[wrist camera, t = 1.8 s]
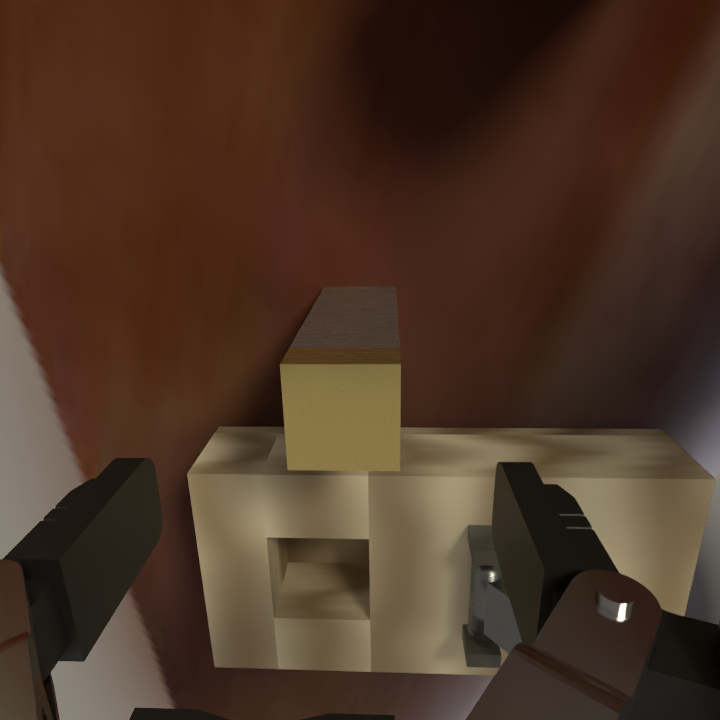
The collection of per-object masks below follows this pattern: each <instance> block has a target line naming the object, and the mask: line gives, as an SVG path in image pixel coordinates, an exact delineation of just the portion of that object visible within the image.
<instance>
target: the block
mask: <svg viewBox="0 0 720 720" xmlns="http://www.w3.org/2000/svg"><path fill="white" fill-rule="evenodd" d="M498 462H532V463H533V464H534V466H535V468H536V470H537V472H538V474H539V476H540V478H541V480H542V482H543V483H544V484H558V485H559V486H560V487H561V488H563V489H564V490H565V491H567V492H568V493H569V494H571V495H572V496H573V497H574V498H575V499H576V501H577V502H578V504H579V506H580V507H581V509H582V511H583V513H584V516H586V518H587V519H588V521H589V523H590V524H591V526H592V530H594V531H595V533H596V534H597V536H598V538H599V539H600V541H601V543H602V544H603V546H604V548H605V550H606V551H607V553H608V555H609V556H610V558H611V560H612V561H613V563H614V565H615V566H616V568H617V570H618V571H619V573H620V574H623V575H626V576H628V577H630V578H632V579H634V580H636V581H638V582H639V583H641V584H642V585H643V586H645V587H646V588H647V589H648V590H649V591H651V592H652V594H653V595H654V596H655V597H656V599H657V600H658V602H659V604H660V606H661V609H663V610H665V611H668V612H671V613H674V614H677V615H681V616H684V615H685V610H686V606H687V602H688V597H689V593H690V589H691V585H692V579H693V576H694V571H695V567H696V563H697V559H698V554H699V549H700V546H701V541H702V537H703V532H704V528H705V524H706V519H707V515H708V510H709V506H710V502H711V498H712V493H713V489H714V485H715V481H716V479H715V478H714V477H713V476H712V475H710V474H709V473H708V472H707V471H706V470H705V469H704V468H703V467H702V466H701V465H700V464H699V463H697V462H696V461H695V460H694V459H693V458H692V457H691V456H690V455H689V454H688V453H687V452H686V451H685V450H683V449H682V448H681V447H680V446H679V445H678V444H677V443H676V442H675V441H674V440H673V439H672V438H671V437H669V436H668V435H667V434H666V433H665V432H664V431H663V430H662V429H586V428H407V427H400V471H325V470H287V456H286V443H285V429H284V427H227V426H219V427H218V429H217V430H216V432H215V433H214V435H213V436H212V438H211V439H210V441H209V442H208V444H207V445H206V447H205V448H204V449H203V451H202V452H201V454H200V455H199V457H198V458H197V460H196V461H195V463H194V464H193V466H192V467H191V469H190V470H189V472H188V473H187V477H188V484H189V491H190V498H191V505H192V512H193V519H194V526H195V533H196V540H197V547H198V554H199V561H200V568H201V575H202V582H203V589H204V596H205V603H206V610H207V617H208V624H209V631H210V638H211V645H212V652H213V659H214V666H215V667H226V668H260V669H293V670H327V671H361V672H394V673H428V674H461V675H496V673H497V672H498V670H499V668H500V667H501V665H502V664H503V662H504V661H505V659H506V658H507V656H508V655H509V654H508V653H507V652H506V651H505V650H503V649H502V648H501V647H500V646H498V645H497V644H496V643H495V642H494V641H492V640H491V641H487V642H483V641H479V640H476V639H474V638H473V637H472V636H471V635H470V634H469V632H468V611H469V595H470V579H471V562H473V565H490V566H499V563H498V559H497V556H496V552H495V549H494V544H493V537H492V512H493V499H494V486H495V473H496V466H497V463H498Z"/></svg>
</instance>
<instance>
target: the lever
mask: <svg viewBox="0 0 720 720" xmlns="http://www.w3.org/2000/svg"><path fill="white" fill-rule="evenodd" d="M468 632H469V634H470V635H471V636H472V637H473V638H474V639H476V640H479V641H483V642H487V641H491V640H492V641H494V642H495V643H496V644H497V645H498V646H500V647H501V648H502V649H503V650H505V651H506V652H507V653H508V654H509V653H510V652H511V650H512V649H513V648H514V647H515V646H516V645H517V644H518V643H520V642H521V643H522V640H521V637H520V633H519V630H518V626H517V623H516V620H515V616H514V613H513V610H512V606H511V603H510V600H509V596H508V593H507V589H506V586H505V583H504V579H503V576H502V573H501V569H500V566H490V565H473V562H471V579H470V595H469V611H468Z"/></svg>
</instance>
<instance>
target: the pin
mask: <svg viewBox="0 0 720 720" xmlns="http://www.w3.org/2000/svg"><path fill="white" fill-rule="evenodd" d="M280 373H281V387H282V401H283V415H284V429H285V443H286V456H287V470H325V471H400V415H401V359H400V345H399V330H398V316H397V301H396V287H324V288H323V290H322V291H321V293H320V295H319V297H318V298H317V300H316V302H315V304H314V305H313V307H312V309H311V311H310V312H309V314H308V316H307V318H306V319H305V321H304V323H303V325H302V326H301V328H300V330H299V332H298V333H297V335H296V337H295V339H294V340H293V342H292V344H291V346H290V347H289V349H288V351H287V353H286V354H285V356H284V358H283V360H282V361H281V363H280Z"/></svg>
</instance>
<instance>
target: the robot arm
mask: <svg viewBox="0 0 720 720" xmlns="http://www.w3.org/2000/svg"><path fill="white" fill-rule="evenodd" d="M162 521H163V518H162V509H161V503H160V497H159V491H158V484H157V478H156V472H155V467H154V463H153V462H152V460H151V459H149V458H116V459H114V460H113V461H112V462H111V463H110V464H109V465H108V466H107V467H106V468H105V469H104V470H103V472H102V473H101V474H100V475H99V476H98V477H97V478H96V479H90V480H89V481H87V482H85V483H84V484H82V485H80V486H78V487H77V488H75V489H73V490H72V491H70V492H69V493H68V494H67V495H66V496H65V497H64V498H63V499H62V500H61V501H60V502H59V503H58V504H57V505H56V508H55V509H52V510H51V511H50V512H49V513H48V514H47V515H46V516H45V517H44V520H43V521H40V522H39V523H38V524H37V525H36V526H35V527H34V528H33V529H32V530H31V531H30V532H29V533H28V534H27V535H26V536H25V537H24V538H23V539H22V540H21V541H20V542H19V543H18V544H17V545H16V546H15V547H14V548H13V549H12V550H11V551H10V552H9V553H8V555H6V556H5V557H4V558H3V559H2V560H0V720H59V714H58V708H57V703H56V696H55V691H54V684H53V680H52V676H51V671H52V669H53V668H54V667H55V665H56V664H57V662H58V661H85V659H86V657H87V656H88V654H89V652H90V651H91V649H92V648H93V646H94V644H95V643H96V641H97V639H98V638H99V636H100V635H101V633H102V631H103V630H104V628H105V626H106V625H107V623H108V622H109V620H110V618H111V617H112V615H113V613H114V612H115V610H116V609H117V607H118V606H119V604H120V602H121V601H122V599H123V597H124V596H125V594H126V593H127V591H128V589H129V588H130V586H131V585H132V583H133V581H134V580H135V578H136V576H137V575H138V573H139V572H140V570H141V568H142V567H143V565H144V564H145V562H146V560H147V559H148V557H149V555H150V554H151V552H152V551H153V549H154V547H155V546H156V544H157V542H158V540H159V538H160V535H161V530H162ZM492 537H493V544H494V549H495V552H496V556H497V559H498V563H499V566H500V569H501V573H502V576H503V579H504V583H505V586H506V589H507V593H508V596H509V600H510V603H511V606H512V610H513V613H514V616H515V620H516V623H517V626H518V630H519V633H520V637H521V640H522V643H521V642H520V643H518V644H517V645H516V646H515V647H514V648H513V649H512V650H511V652H510V653H509V655H508V656H507V658H506V659H505V661H504V662H503V664H502V665H501V667H500V668H499V670H498V672H497V673H496V675H495V676H494V678H493V679H492V681H491V682H490V684H489V685H488V687H487V688H486V690H485V691H484V693H483V694H482V696H481V697H480V699H479V700H478V702H477V703H476V705H475V706H474V708H473V710H472V711H471V713H470V714H469V716H468V717H467V719H466V720H720V622H719V625H717V624H712V623H709V622H704V621H700V620H697V619H693V618H689V617H685V616H681V615H677V614H674V613H671V612H668V611H665V610H663V609H661V606H660V604H659V602H658V600H657V599H656V597H655V596H654V595H653V594H652V592H651V591H649V590H648V589H647V588H646V587H645V586H643V585H642V584H641V583H639V582H638V581H636V580H634V579H632V578H630V577H628V576H626V575H623V574H620V573H619V571H618V570H617V568H616V566H615V565H614V563H613V561H612V560H611V558H610V556H609V555H608V553H607V551H606V550H605V548H604V546H603V544H602V543H601V541H600V539H599V538H598V536H597V534H596V533H595V531H594V530H592V526H591V524H590V523H589V521H588V519H587V518H586V516H584V513H583V511H582V509H581V507H580V506H579V504H578V502H577V501H576V499H575V498H574V497H573V496H572V495H571V494H569V493H568V492H567V491H565V490H564V489H563V488H561V487H560V486H559V485H558V484H544V483H543V482H542V480H541V478H540V476H539V474H538V472H537V470H536V468H535V466H534V464H533V463H532V462H498V463H497V466H496V473H495V486H494V499H493V512H492ZM130 720H229V719H226V718H223V717H220V716H216V715H213V714H210V713H207V712H204V711H201V710H195V709H161V708H158V709H157V708H135V709H134V711H133V713H132V715H131V717H130ZM302 720H394V715H365V714H331V713H329V714H325V715H320V716H316V717H311V718H307V719H302Z"/></svg>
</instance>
